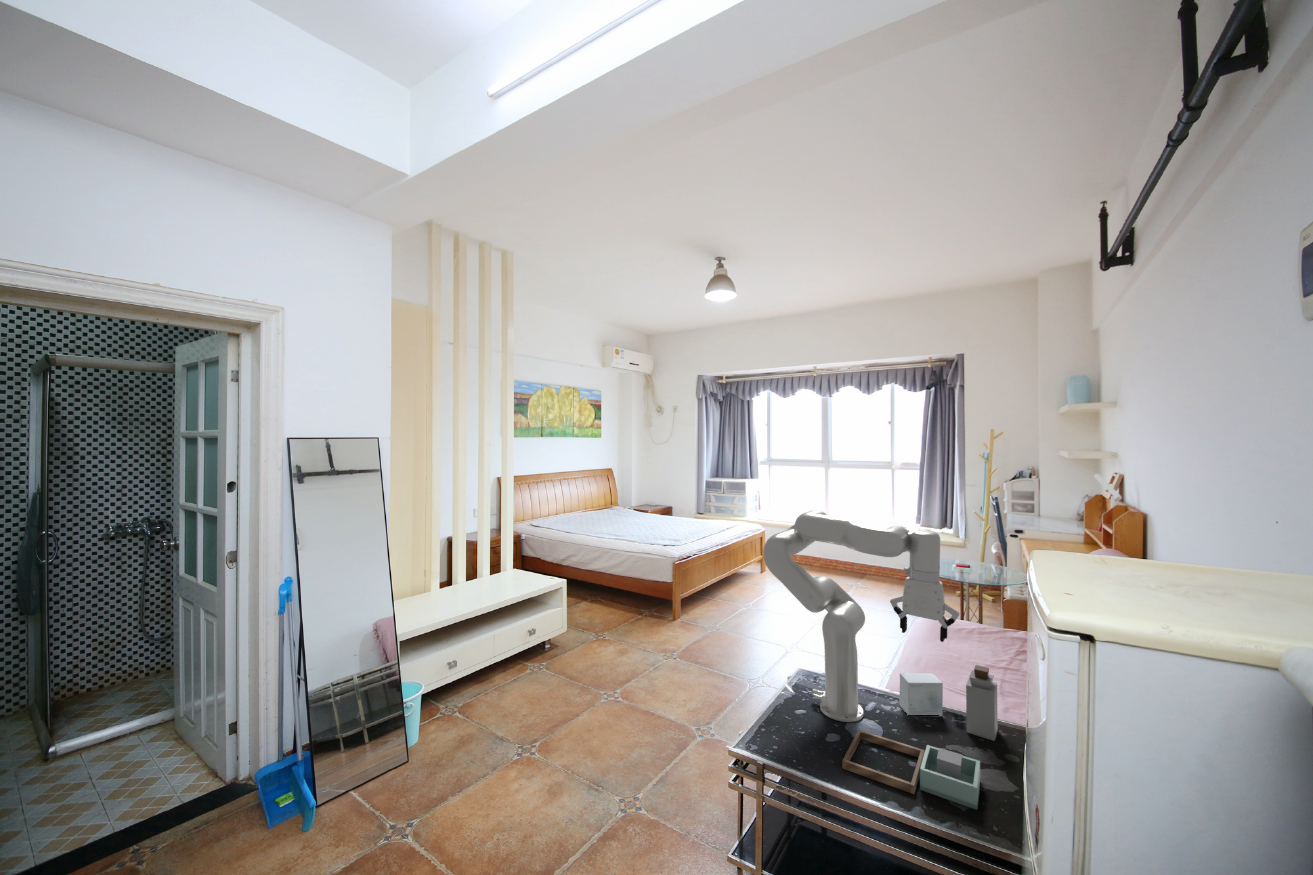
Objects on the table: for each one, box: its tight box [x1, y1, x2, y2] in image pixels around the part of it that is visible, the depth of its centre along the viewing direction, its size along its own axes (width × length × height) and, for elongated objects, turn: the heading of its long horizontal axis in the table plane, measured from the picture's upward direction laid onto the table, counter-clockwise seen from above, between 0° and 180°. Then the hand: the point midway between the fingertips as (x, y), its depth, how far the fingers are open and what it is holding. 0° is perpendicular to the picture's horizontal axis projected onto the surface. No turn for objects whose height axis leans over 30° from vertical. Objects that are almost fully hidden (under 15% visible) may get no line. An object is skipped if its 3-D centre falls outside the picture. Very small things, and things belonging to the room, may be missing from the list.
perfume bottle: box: [965, 664, 999, 742], centre depth 145 cm, size 7×7×18 cm
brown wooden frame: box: [841, 729, 926, 795], centre depth 132 cm, size 17×17×2 cm
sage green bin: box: [919, 744, 981, 811], centre depth 123 cm, size 12×12×5 cm
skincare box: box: [899, 672, 944, 717], centre depth 156 cm, size 10×6×10 cm, turn 88°
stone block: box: [937, 747, 963, 781], centre depth 123 cm, size 5×5×6 cm
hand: (923, 635), depth 142 cm, fingers open, 9 cm apart
